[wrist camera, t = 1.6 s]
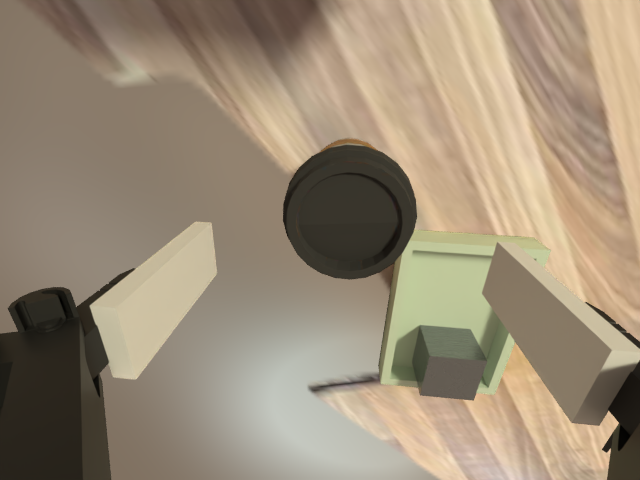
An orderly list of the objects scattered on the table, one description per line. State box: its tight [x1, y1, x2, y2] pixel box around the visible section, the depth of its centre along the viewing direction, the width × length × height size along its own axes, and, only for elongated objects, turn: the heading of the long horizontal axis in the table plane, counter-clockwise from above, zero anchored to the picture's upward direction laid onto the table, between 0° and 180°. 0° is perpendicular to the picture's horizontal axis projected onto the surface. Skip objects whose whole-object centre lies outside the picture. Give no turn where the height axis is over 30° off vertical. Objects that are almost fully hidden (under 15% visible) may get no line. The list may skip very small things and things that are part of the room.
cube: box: [412, 325, 487, 400], centre depth 36 cm, size 6×6×5 cm
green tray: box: [378, 230, 551, 395], centre depth 36 cm, size 20×14×3 cm
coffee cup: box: [283, 138, 417, 279], centre depth 25 cm, size 8×8×15 cm
